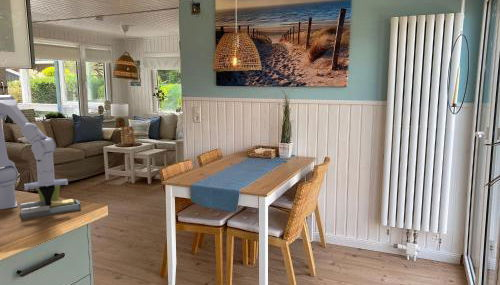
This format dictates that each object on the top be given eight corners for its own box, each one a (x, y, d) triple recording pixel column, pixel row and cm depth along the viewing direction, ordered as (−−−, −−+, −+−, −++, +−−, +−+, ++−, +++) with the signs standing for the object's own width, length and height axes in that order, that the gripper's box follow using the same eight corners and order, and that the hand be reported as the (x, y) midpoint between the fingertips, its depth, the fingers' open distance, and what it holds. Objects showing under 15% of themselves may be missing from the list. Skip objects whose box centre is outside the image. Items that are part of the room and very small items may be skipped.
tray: (47, 209, 151) (47, 203, 151) (77, 204, 157) (76, 199, 157) (50, 214, 145) (49, 208, 145) (80, 209, 151) (80, 203, 151)
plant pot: (31, 206, 155) (29, 185, 154) (52, 200, 163) (51, 179, 162) (46, 209, 151) (44, 188, 149) (67, 203, 159) (66, 182, 158)
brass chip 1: (48, 205, 150) (50, 199, 150) (59, 206, 152) (61, 200, 152) (49, 208, 147) (51, 202, 147) (61, 209, 149) (62, 203, 149)
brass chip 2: (61, 206, 152) (61, 200, 152) (72, 204, 155) (72, 198, 154) (63, 209, 149) (62, 203, 149) (74, 207, 151) (74, 201, 151)
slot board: (20, 212, 147) (19, 203, 146) (47, 208, 152) (46, 199, 151) (22, 219, 140) (21, 210, 139) (50, 214, 145) (49, 205, 144)
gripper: (24, 174, 139) (27, 211, 141) (68, 170, 147) (70, 204, 149) (22, 171, 144) (25, 206, 146) (65, 166, 152) (67, 200, 154)
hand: (48, 205), depth 148 cm, fingers closed
